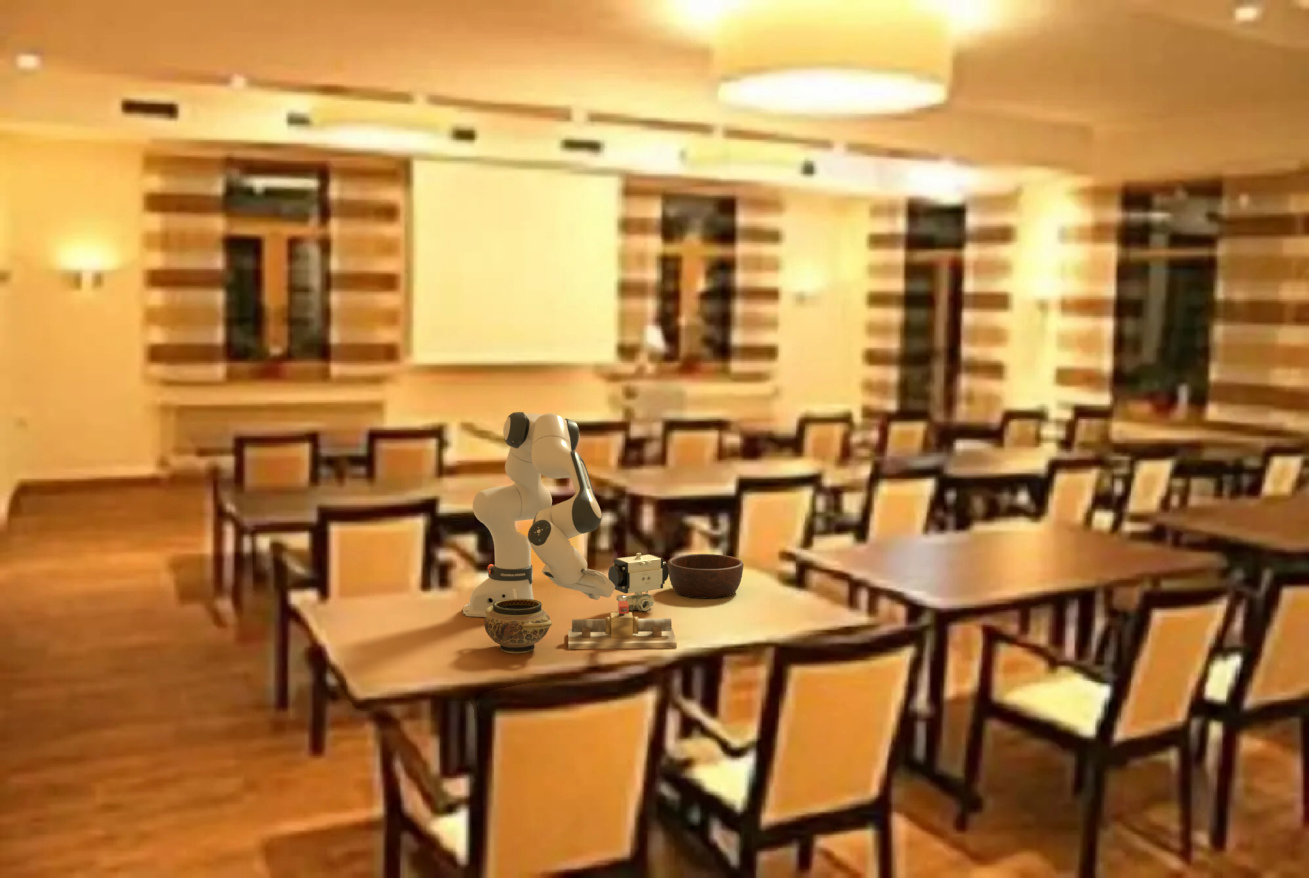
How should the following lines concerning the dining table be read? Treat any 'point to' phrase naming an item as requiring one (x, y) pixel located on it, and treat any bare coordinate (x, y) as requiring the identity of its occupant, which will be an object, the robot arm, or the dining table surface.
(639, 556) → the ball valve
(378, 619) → the dining table surface
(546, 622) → the ceramic bowl
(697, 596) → the wooden bowl
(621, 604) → the valve lever
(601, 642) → the pipe board
